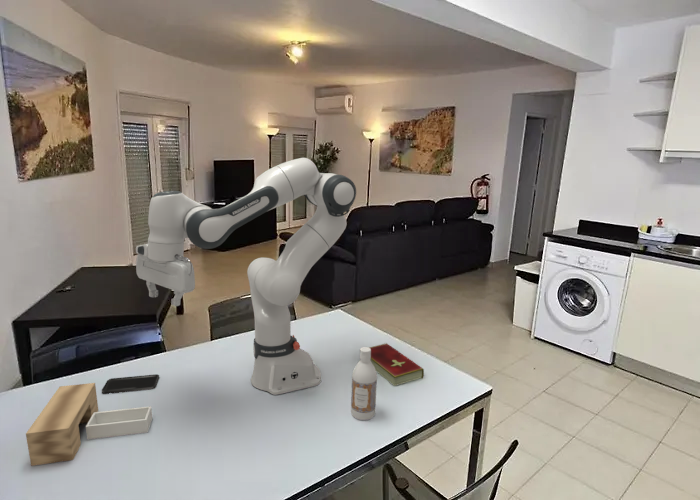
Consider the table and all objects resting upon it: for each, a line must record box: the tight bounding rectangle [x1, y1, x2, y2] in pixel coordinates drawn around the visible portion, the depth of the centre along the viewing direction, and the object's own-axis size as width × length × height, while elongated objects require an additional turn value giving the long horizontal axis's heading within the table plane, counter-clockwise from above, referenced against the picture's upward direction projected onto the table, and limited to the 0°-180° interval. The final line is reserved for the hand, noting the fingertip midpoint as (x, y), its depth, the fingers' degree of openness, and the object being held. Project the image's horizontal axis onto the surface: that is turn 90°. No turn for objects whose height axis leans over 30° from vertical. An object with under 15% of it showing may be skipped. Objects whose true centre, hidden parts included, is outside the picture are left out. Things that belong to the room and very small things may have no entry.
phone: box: [101, 374, 160, 395], centre depth 131 cm, size 8×1×15 cm
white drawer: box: [85, 406, 153, 440], centre depth 110 cm, size 14×6×4 cm, turn 104°
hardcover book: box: [368, 342, 425, 387], centre depth 146 cm, size 12×21×4 cm, turn 30°
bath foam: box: [350, 346, 378, 421], centre depth 118 cm, size 7×7×20 cm
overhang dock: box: [25, 382, 99, 467], centre depth 106 cm, size 8×20×8 cm, turn 15°
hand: (164, 300), depth 115 cm, fingers open, 8 cm apart
